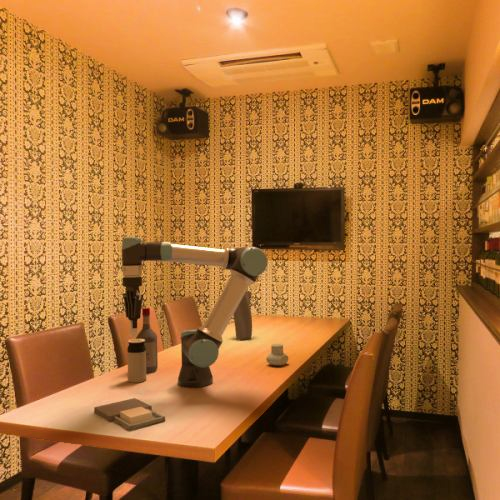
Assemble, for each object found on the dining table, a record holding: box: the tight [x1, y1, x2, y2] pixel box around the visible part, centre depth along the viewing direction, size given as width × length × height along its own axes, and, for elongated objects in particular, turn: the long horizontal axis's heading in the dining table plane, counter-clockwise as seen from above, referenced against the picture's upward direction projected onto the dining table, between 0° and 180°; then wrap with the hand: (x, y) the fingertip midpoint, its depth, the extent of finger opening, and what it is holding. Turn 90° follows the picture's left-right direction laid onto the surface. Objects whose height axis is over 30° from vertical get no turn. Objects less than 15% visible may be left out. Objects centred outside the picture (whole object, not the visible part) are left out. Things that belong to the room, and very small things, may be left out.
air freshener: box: [266, 343, 289, 367], centre depth 248 cm, size 11×8×10 cm
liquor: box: [135, 307, 159, 374], centre depth 241 cm, size 9×9×30 cm
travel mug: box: [126, 338, 147, 384], centre depth 223 cm, size 8×8×18 cm
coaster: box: [120, 407, 152, 425], centre depth 172 cm, size 8×8×2 cm
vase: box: [233, 290, 253, 341], centre depth 318 cm, size 12×12×30 cm
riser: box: [93, 397, 153, 423], centre depth 181 cm, size 16×13×2 cm
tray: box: [113, 409, 166, 432], centre depth 171 cm, size 13×12×2 cm
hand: (133, 336), depth 197 cm, fingers closed
